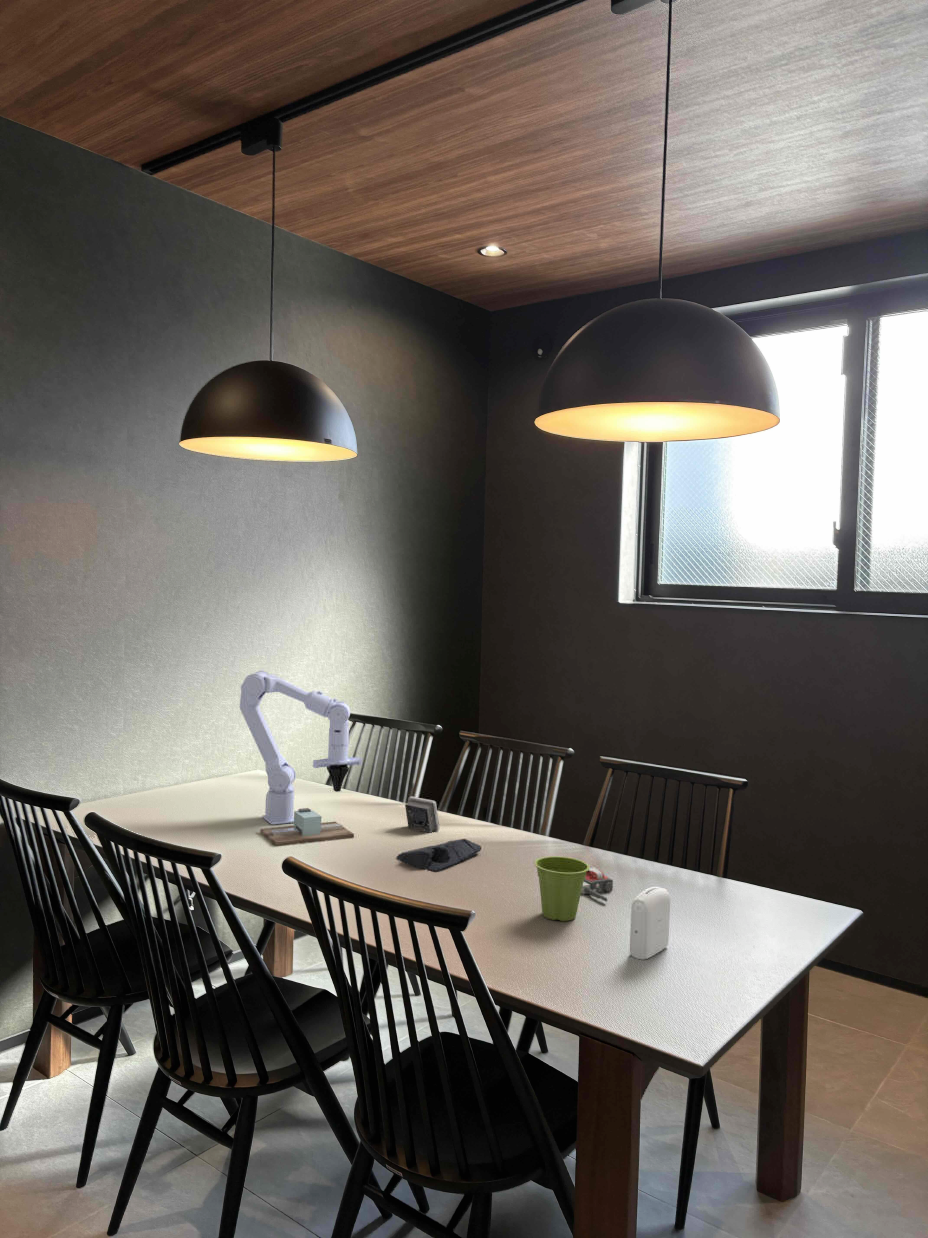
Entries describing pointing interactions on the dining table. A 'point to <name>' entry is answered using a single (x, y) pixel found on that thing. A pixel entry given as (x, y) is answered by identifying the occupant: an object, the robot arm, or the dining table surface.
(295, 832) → the rail board
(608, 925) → the dining table surface
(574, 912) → the plant pot
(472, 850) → the dark slate chunk
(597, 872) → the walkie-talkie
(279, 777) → the robot arm
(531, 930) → the dining table surface
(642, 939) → the photo printer
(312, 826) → the module
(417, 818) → the electrical switch
